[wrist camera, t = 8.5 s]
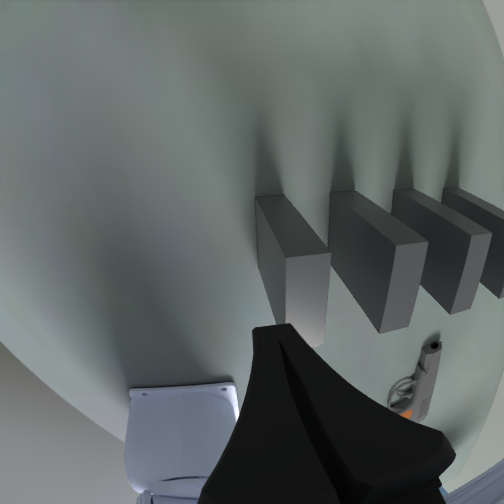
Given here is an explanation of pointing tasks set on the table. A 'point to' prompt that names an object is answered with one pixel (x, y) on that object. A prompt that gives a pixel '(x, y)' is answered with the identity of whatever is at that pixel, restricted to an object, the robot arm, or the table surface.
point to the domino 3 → (445, 248)
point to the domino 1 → (292, 267)
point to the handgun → (420, 386)
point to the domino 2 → (375, 259)
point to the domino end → (491, 218)
